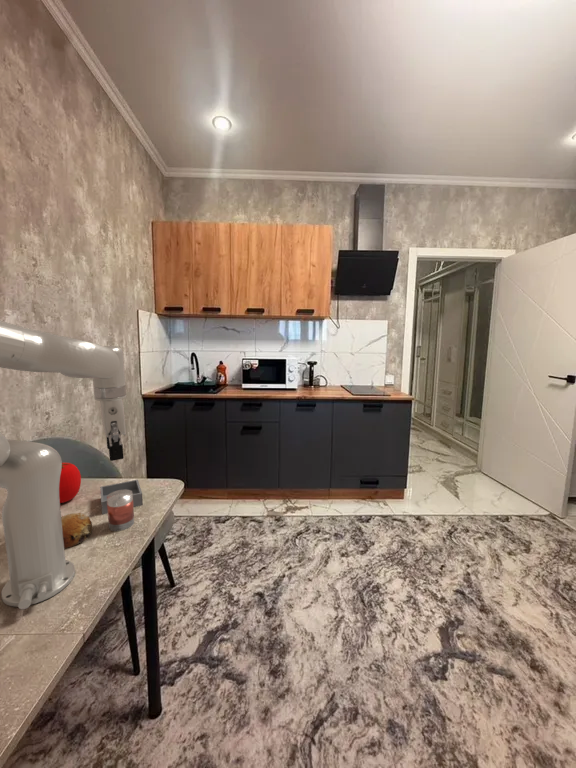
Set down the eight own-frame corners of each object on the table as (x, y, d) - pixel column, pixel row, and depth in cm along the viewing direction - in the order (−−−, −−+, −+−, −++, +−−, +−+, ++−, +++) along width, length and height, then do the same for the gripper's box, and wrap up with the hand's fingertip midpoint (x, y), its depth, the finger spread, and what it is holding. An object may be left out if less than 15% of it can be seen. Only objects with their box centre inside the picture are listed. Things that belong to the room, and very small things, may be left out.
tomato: (67, 510, 100) (63, 471, 98) (29, 509, 100) (24, 470, 98) (91, 491, 112) (88, 455, 110) (57, 490, 112) (54, 455, 110)
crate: (142, 505, 104) (142, 493, 103) (102, 514, 98) (101, 502, 97) (138, 490, 113) (137, 479, 113) (101, 498, 107) (100, 486, 107)
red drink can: (135, 527, 92) (133, 497, 91) (109, 533, 89) (107, 503, 87) (133, 515, 98) (131, 487, 96) (108, 522, 94) (106, 492, 93)
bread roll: (89, 536, 93) (83, 508, 95) (100, 535, 87) (93, 505, 88) (47, 553, 86) (41, 523, 87) (55, 554, 79) (49, 521, 80)
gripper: (129, 397, 82) (134, 461, 85) (122, 386, 97) (126, 441, 99) (95, 400, 78) (101, 467, 81) (93, 388, 93) (98, 446, 96)
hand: (115, 453), depth 90 cm, fingers open, 9 cm apart
